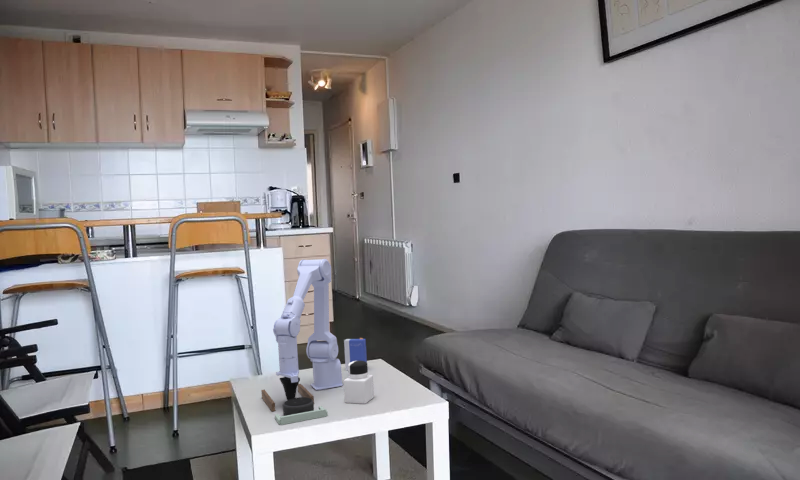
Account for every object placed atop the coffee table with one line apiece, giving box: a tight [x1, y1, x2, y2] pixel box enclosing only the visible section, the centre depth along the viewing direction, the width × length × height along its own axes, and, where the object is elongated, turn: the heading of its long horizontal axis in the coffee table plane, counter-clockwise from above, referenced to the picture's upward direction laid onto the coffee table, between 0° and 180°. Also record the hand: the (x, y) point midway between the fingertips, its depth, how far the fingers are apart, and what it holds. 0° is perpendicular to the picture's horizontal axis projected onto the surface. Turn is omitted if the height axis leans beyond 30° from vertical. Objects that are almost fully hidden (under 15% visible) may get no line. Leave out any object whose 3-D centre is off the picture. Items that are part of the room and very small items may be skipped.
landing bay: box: [274, 405, 329, 426], centre depth 162 cm, size 14×6×2 cm, turn 114°
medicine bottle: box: [343, 361, 375, 404], centre depth 176 cm, size 7×7×12 cm
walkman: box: [343, 337, 368, 372], centre depth 214 cm, size 8×3×12 cm, turn 77°
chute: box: [260, 383, 315, 412], centre depth 179 cm, size 13×17×2 cm
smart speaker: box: [282, 396, 315, 416], centre depth 165 cm, size 9×9×4 cm
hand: (290, 400), depth 174 cm, fingers closed
